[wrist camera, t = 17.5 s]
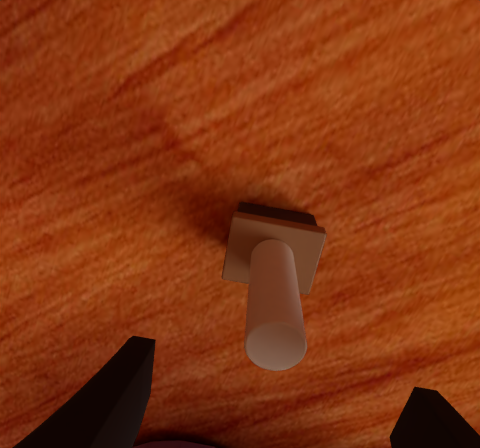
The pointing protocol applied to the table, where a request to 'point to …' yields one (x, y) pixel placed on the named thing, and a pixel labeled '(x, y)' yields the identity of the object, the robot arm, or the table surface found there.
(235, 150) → the table surface
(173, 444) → the bowl
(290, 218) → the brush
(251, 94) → the table surface
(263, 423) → the table surface
